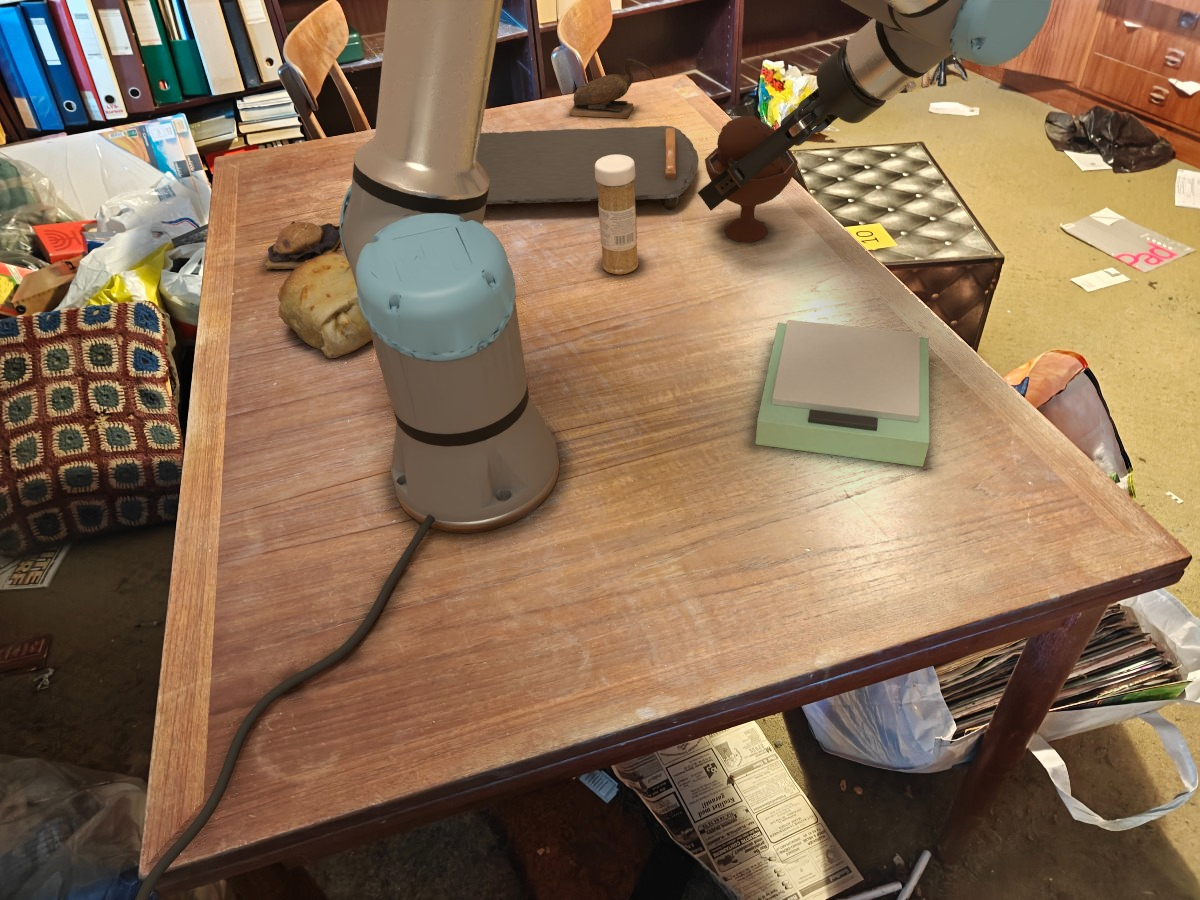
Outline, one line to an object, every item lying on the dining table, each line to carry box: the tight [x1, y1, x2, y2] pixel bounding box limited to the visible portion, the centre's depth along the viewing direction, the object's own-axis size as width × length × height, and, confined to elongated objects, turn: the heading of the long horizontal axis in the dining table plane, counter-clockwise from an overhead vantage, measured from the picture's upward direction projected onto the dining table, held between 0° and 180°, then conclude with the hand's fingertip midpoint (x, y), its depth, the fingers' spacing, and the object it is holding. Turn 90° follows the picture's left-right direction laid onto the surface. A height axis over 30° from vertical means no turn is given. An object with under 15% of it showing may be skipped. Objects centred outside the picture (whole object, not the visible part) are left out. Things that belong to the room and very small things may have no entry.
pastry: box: [277, 251, 373, 359], centre depth 97 cm, size 14×12×8 cm
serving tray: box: [477, 125, 700, 210], centre depth 121 cm, size 39×23×6 cm, turn 87°
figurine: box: [569, 57, 656, 119], centre depth 138 cm, size 14×4×9 cm, turn 74°
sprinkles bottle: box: [595, 155, 639, 275], centre depth 101 cm, size 5×5×13 cm
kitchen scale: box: [754, 319, 931, 468], centre depth 83 cm, size 16×15×4 cm
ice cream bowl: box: [704, 115, 799, 243], centre depth 104 cm, size 11×11×15 cm
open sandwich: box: [265, 221, 342, 270], centre depth 112 cm, size 11×8×4 cm
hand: (729, 181), depth 107 cm, fingers closed on ice cream bowl, 11 cm apart
